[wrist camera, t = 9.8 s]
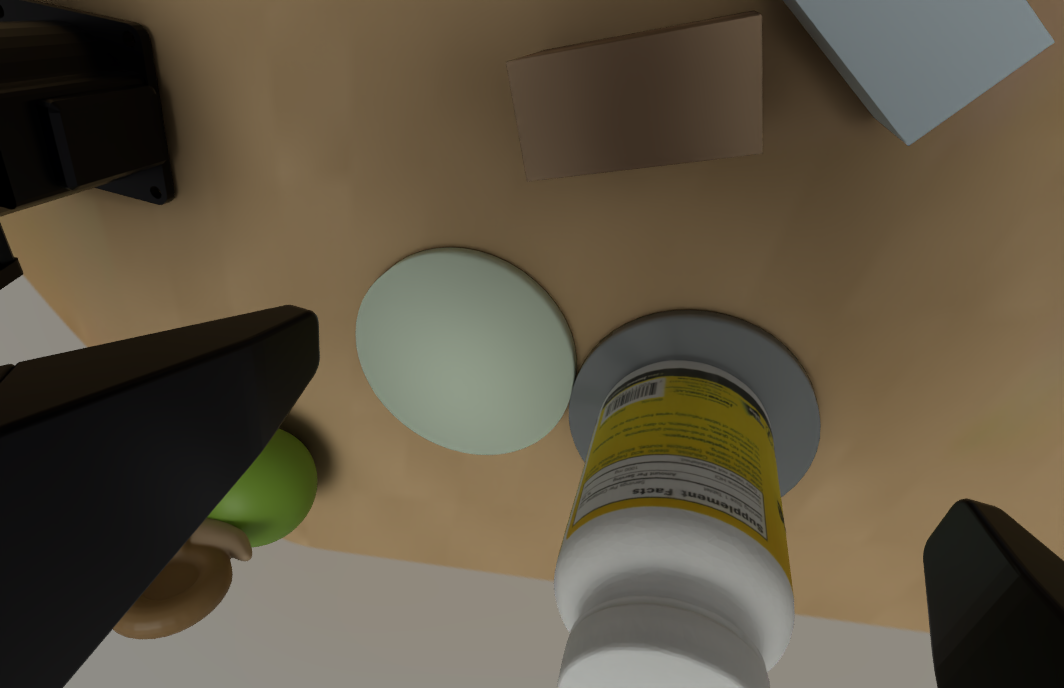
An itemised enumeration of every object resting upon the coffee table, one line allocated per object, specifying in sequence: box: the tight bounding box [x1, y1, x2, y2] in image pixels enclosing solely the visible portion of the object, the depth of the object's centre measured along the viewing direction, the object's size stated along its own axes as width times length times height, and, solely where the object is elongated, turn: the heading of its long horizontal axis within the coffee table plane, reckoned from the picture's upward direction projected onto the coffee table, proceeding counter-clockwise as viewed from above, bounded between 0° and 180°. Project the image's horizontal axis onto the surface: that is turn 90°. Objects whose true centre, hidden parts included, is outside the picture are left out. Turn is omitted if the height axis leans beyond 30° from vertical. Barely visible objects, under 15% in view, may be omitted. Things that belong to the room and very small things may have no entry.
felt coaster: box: [356, 247, 577, 455], centre depth 24 cm, size 9×9×1 cm
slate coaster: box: [569, 310, 820, 497], centre depth 23 cm, size 9×9×1 cm
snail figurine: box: [113, 429, 317, 639], centre depth 26 cm, size 5×6×12 cm
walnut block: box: [506, 11, 763, 182], centre depth 17 cm, size 6×3×4 cm, turn 100°
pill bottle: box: [554, 360, 794, 688], centre depth 18 cm, size 6×6×11 cm
